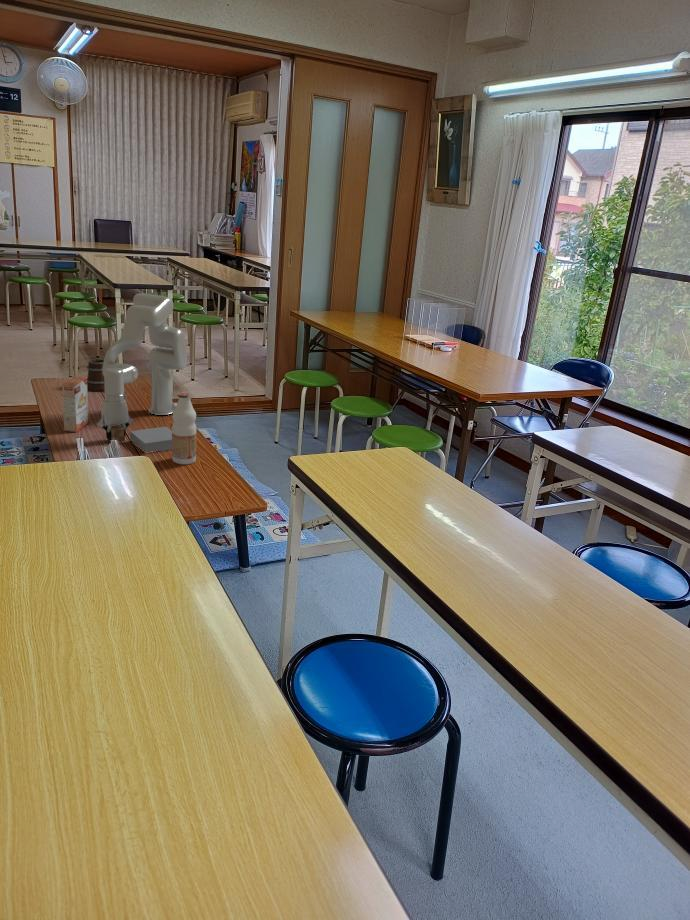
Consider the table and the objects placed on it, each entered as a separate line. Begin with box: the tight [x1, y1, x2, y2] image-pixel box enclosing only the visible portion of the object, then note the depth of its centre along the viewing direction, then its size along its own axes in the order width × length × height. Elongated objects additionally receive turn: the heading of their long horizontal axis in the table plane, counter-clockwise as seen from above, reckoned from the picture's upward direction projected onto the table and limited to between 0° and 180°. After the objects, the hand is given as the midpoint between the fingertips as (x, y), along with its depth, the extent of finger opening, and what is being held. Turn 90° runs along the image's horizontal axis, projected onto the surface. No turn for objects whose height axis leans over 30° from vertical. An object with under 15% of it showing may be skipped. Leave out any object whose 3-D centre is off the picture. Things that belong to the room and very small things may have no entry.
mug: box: [86, 358, 105, 393], centre depth 351 cm, size 16×12×15 cm
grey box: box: [129, 426, 172, 452], centre depth 285 cm, size 16×16×5 cm
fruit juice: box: [171, 391, 197, 465], centre depth 267 cm, size 9×9×28 cm
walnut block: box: [110, 424, 125, 443], centre depth 285 cm, size 5×5×6 cm
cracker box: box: [61, 376, 89, 433], centre depth 293 cm, size 14×6×21 cm, turn 179°
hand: (116, 438), depth 286 cm, fingers closed on walnut block, 5 cm apart
